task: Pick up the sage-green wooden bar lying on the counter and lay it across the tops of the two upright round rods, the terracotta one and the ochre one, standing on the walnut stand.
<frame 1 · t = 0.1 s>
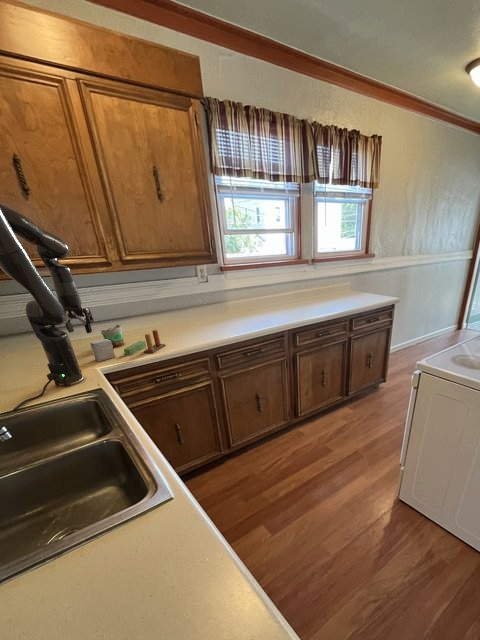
hand: (80, 332, 139), 17 cm above the worktop, tool pointing down, fingers open, 8 cm apart
food container: (119, 346, 178), on the worktop
rod stand: (155, 349, 172), on the worktop
bar: (136, 350, 170), on the worktop
medicine box: (105, 358, 160), on the worktop
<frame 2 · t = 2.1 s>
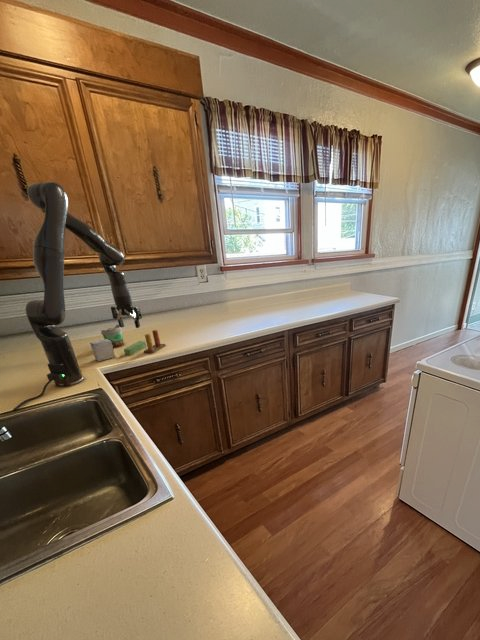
hand: (130, 327, 165), 12 cm above the worktop, tool pointing down, fingers open, 8 cm apart
nothing on the worktop moved.
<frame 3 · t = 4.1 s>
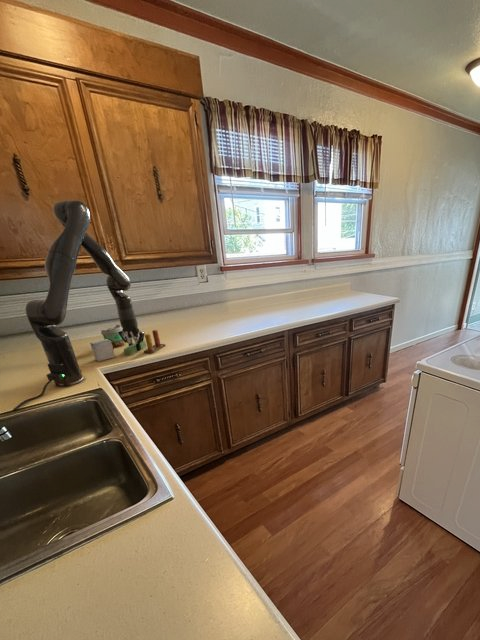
hand: (136, 350, 170), 0 cm above the worktop, tool pointing down, fingers closed on bar, 3 cm apart
bar: (136, 350, 170), on the worktop, touching gripper
everything else where it was.
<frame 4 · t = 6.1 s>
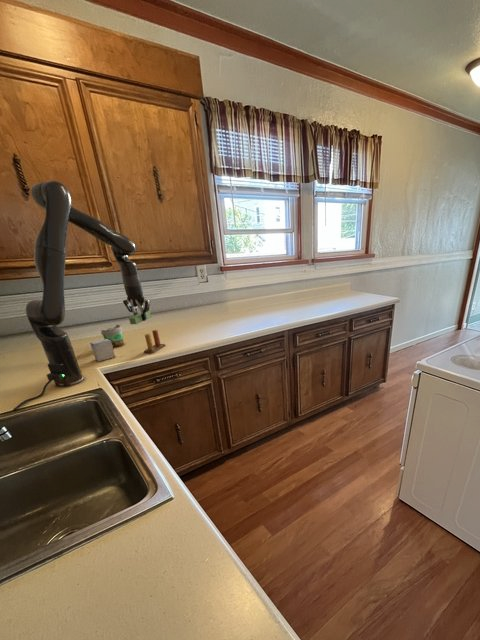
hand: (141, 320, 164), 15 cm above the worktop, tool pointing down, fingers closed on bar, 3 cm apart
bar: (141, 320, 164), point 15 cm above the worktop, touching gripper
everything else where it was.
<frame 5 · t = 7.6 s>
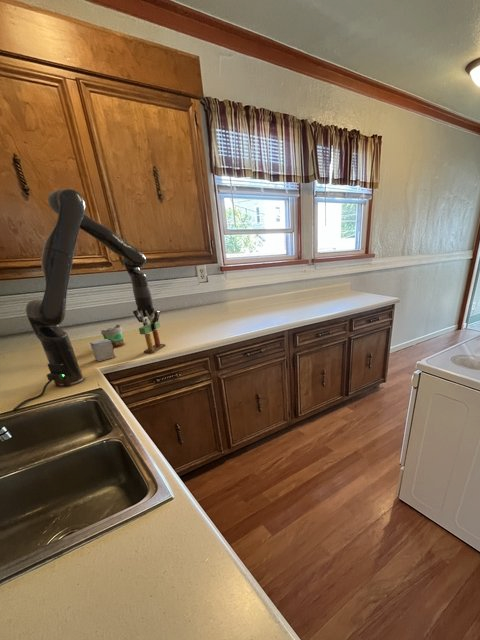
hand: (150, 330, 167), 10 cm above the worktop, tool pointing down, fingers closed on bar, 3 cm apart
bar: (150, 330, 167), point 10 cm above the worktop, touching gripper
everything else where it was.
when the fingers open (9 cm above the worktop, at t = 8.2 s): bar stays where it is, resting on rod stand.
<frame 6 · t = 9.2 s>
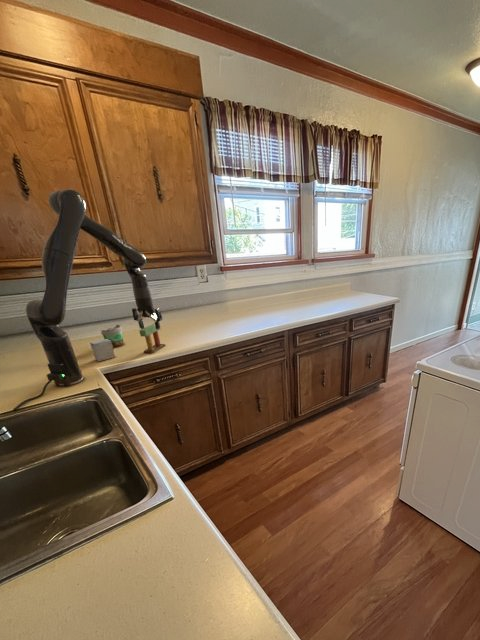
hand: (150, 328, 167), 11 cm above the worktop, tool pointing down, fingers open, 8 cm apart
bar: (151, 332, 168), point 9 cm above the worktop, touching rod stand
everything else where it was.
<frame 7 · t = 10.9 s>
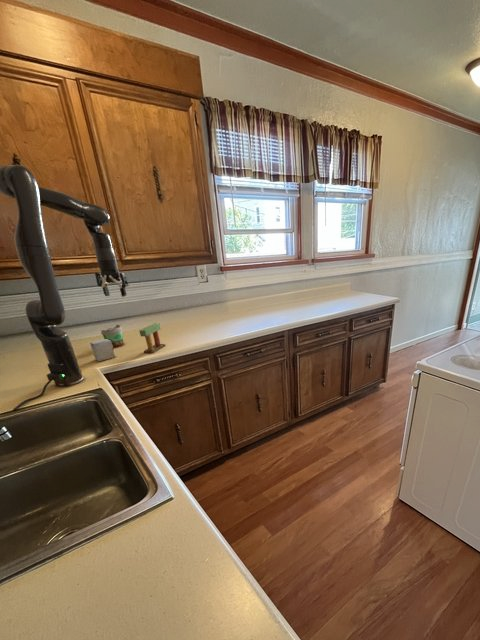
hand: (115, 296, 153), 28 cm above the worktop, tool pointing down, fingers open, 8 cm apart
nothing on the worktop moved.
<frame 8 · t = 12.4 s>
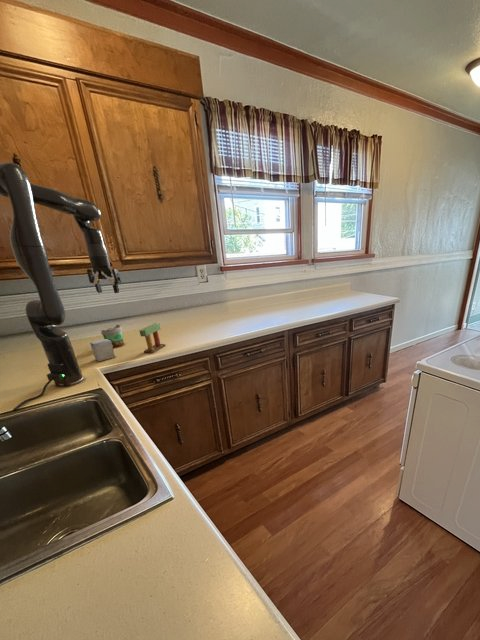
hand: (108, 292, 151), 30 cm above the worktop, tool pointing down, fingers open, 8 cm apart
nothing on the worktop moved.
at the end: bar 0.0 cm off-centre on the rod stand, point 9.0 cm above the rod stand's base; bar tilted 0°; the gripper is holding nothing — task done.
